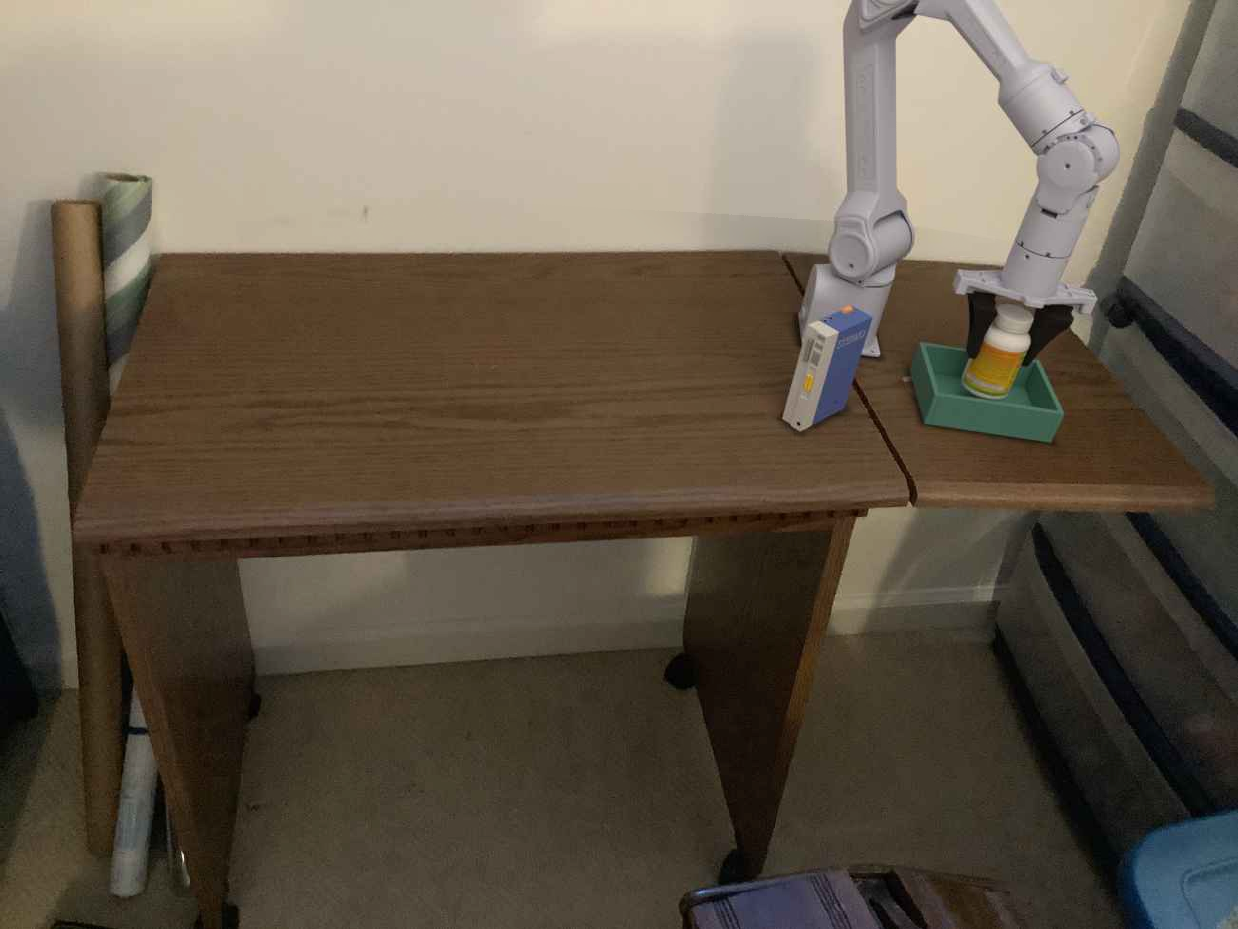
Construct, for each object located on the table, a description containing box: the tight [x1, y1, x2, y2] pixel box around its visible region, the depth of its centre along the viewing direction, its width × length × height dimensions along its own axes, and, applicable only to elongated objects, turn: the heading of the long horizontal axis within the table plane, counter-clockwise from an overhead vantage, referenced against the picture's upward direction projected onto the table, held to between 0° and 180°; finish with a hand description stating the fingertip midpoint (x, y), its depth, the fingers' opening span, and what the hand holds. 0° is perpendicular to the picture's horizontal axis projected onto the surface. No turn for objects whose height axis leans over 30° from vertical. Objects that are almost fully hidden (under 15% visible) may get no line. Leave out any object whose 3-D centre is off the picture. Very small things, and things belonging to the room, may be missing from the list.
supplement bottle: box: [961, 303, 1034, 400], centre depth 111 cm, size 5×5×10 cm
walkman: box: [781, 306, 873, 432], centre depth 106 cm, size 8×3×12 cm, turn 133°
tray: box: [908, 341, 1065, 444], centre depth 115 cm, size 14×11×4 cm
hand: (996, 357), depth 112 cm, fingers closed on supplement bottle, 5 cm apart
